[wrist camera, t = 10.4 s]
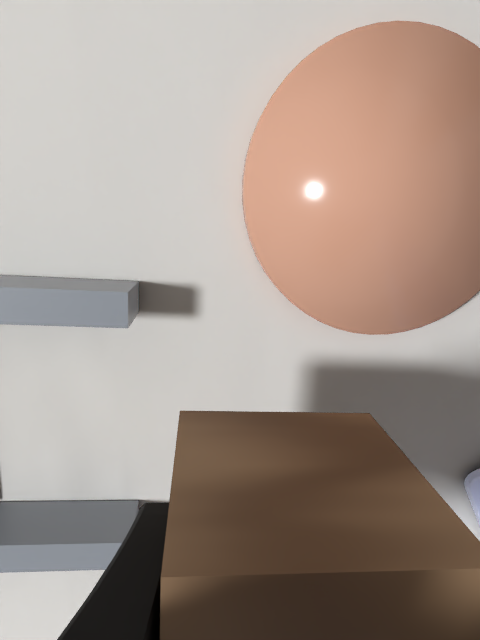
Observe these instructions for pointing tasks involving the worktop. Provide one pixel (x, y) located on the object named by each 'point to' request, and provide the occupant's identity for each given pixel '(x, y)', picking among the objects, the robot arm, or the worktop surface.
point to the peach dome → (371, 179)
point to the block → (310, 535)
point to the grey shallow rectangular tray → (65, 516)
